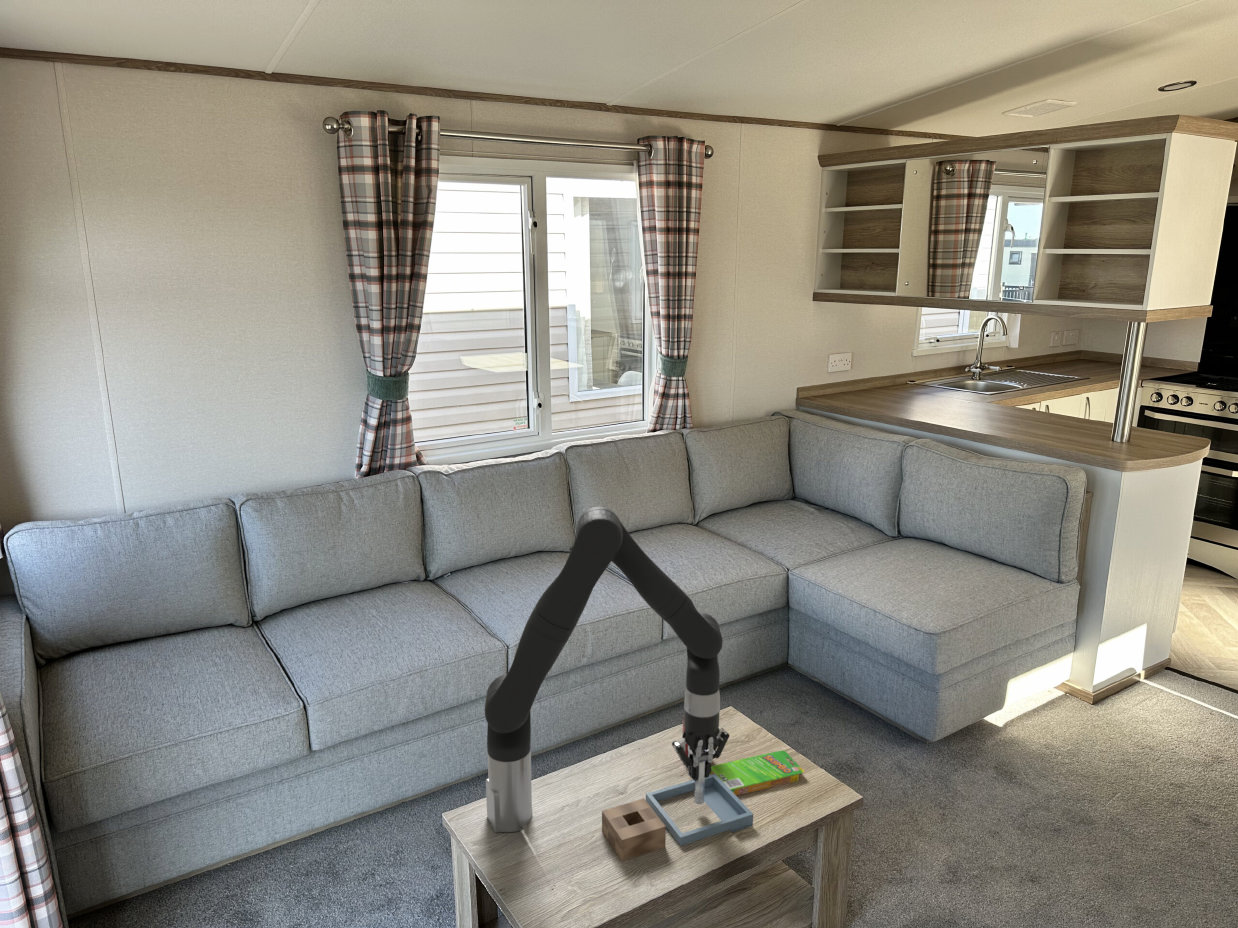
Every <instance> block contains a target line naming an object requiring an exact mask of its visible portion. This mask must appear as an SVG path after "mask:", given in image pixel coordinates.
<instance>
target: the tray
mask: <svg viewBox="0 0 1238 928" xmlns="http://www.w3.org/2000/svg"><path fill="white" fill-rule="evenodd" d="M694 786H695V781H694V780H693V779H691V780H688V781H683V782H680V783H677V784H674V785H673V784H672V785H669V786H667V787H663V788H660V789H657V790H656V789H655V790H653V791H650V792H646V793H645V800H646V801H647V803H648V804H649V805H650V807H651V808H652V809H653V810H654V812H655V813H656V814H657V816H658V817H659V818H660V819H661V821H662V822H663V823H664V825H665V826H666V830H667V831H668V832H669V834H670V835H671V836H672V837H673V838H674V840H675V841H676V842H677V844H678V845H679V847H682V846H685V845H688V844H690V843H694V842H697V841H700V840H703V839H707V838H709V837H712V836H716V835H718V834H721V833H725V832H727V831H730V832H731V833H733V834H734V833H735V832H739V831H742V830H744V829H747V828H751V827H753V825H754V813H753V812H752V810H750V809H749V807H747V806H746V805H745V803H744V802H743V801H741V799H740V798H739V797H738V795H735V794H734V793H733V792H732V791H731V790H730V789H729V788H728V787H727V786H726V785H725V784H724V782H723V781H722V780H721V779H720V778H719V777H718V776H717V775H716V774H715V773H714V774H709V777H707V778H705V790H704V803H705V804H706V805H707V806H708V808H709V809H711V811H712V812H713V813H714V814H715V815H716V816H717V818H718V819H719V820H720V821H717V822H713V823H710V824H708V825H704V826H701V827H697V828H695V829H691V830H688V831H685V832H682V830H680V828H679V827H678V825H677V824H676V823H675V822H674V821H673V820H672V818H671V817H670V816H669V814H668V813H667V812H666V810H664V808H663V807H662V806H661V804H660V803H659V802H660V801H662V800H666V799H669V798H672V797H675V796H679V795H682V794H686V793H688V792H693V791H694Z"/></svg>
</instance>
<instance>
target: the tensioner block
mask: <svg viewBox="0 0 1238 928" xmlns="http://www.w3.org/2000/svg"><path fill="white" fill-rule="evenodd" d="M666 830H667V828H666V826H665V825H664V823H663V822H662V821H661V819H660V818H659V817H658V816H657V814H656V813H655V812H654V810H653V809H652V808H651V807H650V805H649V804H648V803H647V801H646V798H641V799H637V800H633V801H630V802H628V803H623V804H620V805H617V806H614V807H610V808H607V809H603V810H601V832H602V833H603V835H604V837H605V838H606V840H607V841H608V843H609V844H610V845H611V847H612V849H613V851H615V853H616V855H617V857H618V858H619V860H621V862H623V861H626V860H629V859H633V858H635V857H640V856H643V855H645V854H648V853H651V852H654V851H657V850H661V849H664V848H666V838H667V837H666V833H667V831H666Z"/></svg>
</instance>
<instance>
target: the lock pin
mask: <svg viewBox="0 0 1238 928" xmlns="http://www.w3.org/2000/svg"><path fill="white" fill-rule="evenodd" d="M706 760H708V754H707V753H706V752H705V751H704V750H702V751H701V756H700V757H699V758H698V766H699V770H698V780H697V781H695V786H694V790H693V791H694V793H693V802H694V803H695V804H696V805H702V804H704V803H705V802H704V790H705V761H706Z"/></svg>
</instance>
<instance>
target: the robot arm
mask: <svg viewBox="0 0 1238 928" xmlns="http://www.w3.org/2000/svg"><path fill="white" fill-rule="evenodd" d="M611 563H613V564H614V565H615V566H616V567H617V568H618V569H619V570H620V572H622V573H623V574H624V576H625V577H626V578H627V579H628V581H629V582H630V583H631V585H632V586H633V587H634V589H635V590H636V592H637V593H638V594H639V596H641V598H642V599H643V600H644V602H646V604H647V605H648V606H649V607H650V608H651V609H652V610H653V611H654V612H655V613H656V614H657V615H658V616H659V617H660V618H661V619H662V620H664V621H665V623H667V624H668V625H669V626H670V627H671V629H672V631H674V633H675V634H676V636H678V639H680V640H681V642H682V643H683V645H684V647H686V655H687V658H686V659H687V660H686V661H687V663H686V664H687V665H686V672H685V673H686V674H685V675H686V679H685V681H686V682H685V692H684V703H683V705H684V707H683V708H684V709H683V710H684V711H683V712H684V713H683V716H684V727H685V731H684V733H683V736H682V735H681V736H682V737H683V738H682V737H681V739H679V741H677V740H674V741H672V743H671V746H672V748H673V749H674V751H675V753H676V754H677V755H678V757H679V759H680V761H681V762H682V763H683V764H684V765H685V766H686V767H688V776H689V777H690V778H691V780H694V781H697V780H698V770H699V766H698V758H699V757H700V756H701V751H702V750H704V751H705V752H706V753H707V754H708V760H706V761H705V778H707V777H709V775H711V774H710V773H711V766H712V762H713V761H714V759H719V758H720V757H721V755H722V752H723V751H724V749H725V747H726V744H727V743H728V740H729V738H730V734H729V732H728V731H727V730H725V729H724V728H723V727H722V728H719V727H720V710H721V709H720V707H721V694H720V680H721V679H720V678H721V677H720V673H721V672H720V665H719V660H718V659H719V658H718V655H719V653H720V652H721V651H722V648H723V644H724V643H723V640H724V639H723V636H722V632H721V630H720V629H721V627H720V625H719V623H718V621H717V620H716V618H715V617H713V616H712V615H710V614H708V613H704V612H703V613H701V612H699V611H698V610H697V608H696V606H695V605H694V602H693V601H692V599H691V598H690V596H688V594H686V592H685V591H684V590H683V589H682V588H681V587H680V586H678V584H677V583H676V582H674V580H672V579H671V578H670V577H669V576H668V574H666V573H665V572H664V571H663V570H662V569H661V568H660V567H659V566H658V565H657V564H656V563H655V562H654V561H653V560H652V559H651V558H650V557H649V556H648V555H647V554H646V552H644V550H643V549H642V548H641V547H640V545H639V544H638V543H637V542H636V541H635V539H634V538H633V537H632V536H631V534H630V533H629V531H628V530H627V529H626V527H625V526H624V524H623V523H622V522H621V520H620V518H619V517H618V516H617V514H616V513H615V512H613V510H611V509H609V508H606V507H605V506H593V507H590V508H588V509H587V510H585V511H583V512H582V514H581V515H580V517H579V519H578V522H577V527H576V535H575V540H574V542H573V546H572V547H571V550H570V553H569V555H568V557H567V559H566V561H565V564H564V566H563V568H562V570H561V571H560V573H559V574H558V575H557V577H556V578H555V579H554V580H553V581H552V582H551V583H550V584H549V586H548V587H547V588H546V589H545V591H543V593H542V594H541V596H540V598H539V599H538V600H537V602H536V603H535V606H534V608H533V610H532V611H531V613H530V615H529V617H528V619H527V621H526V624H525V626H524V628H523V631H522V634H521V636H520V639H519V641H518V645H517V649H516V651H515V653H514V658H513V660H512V663H511V665H510V668H509V670H508V672H507V674H502V675H500V676H497V677H496V678H494V679H493V680H492V682H491V683H490V684H489V686H488V688H487V690H486V696H485V697H486V698H485V704H484V716H485V717H484V718H485V719H486V720H485V721H486V723H487V731H486V732H487V736H486V749H487V751H486V752H487V771H488V773H487V774H488V775H487V777H488V778H486V779H485V795H486V818H487V819H488V821H489V823H490V826H491V827H492V829H493V831H494V833H499V832H502V833H515V832H519V831H521V830H524V828H523V827H524V826H525V825H527V824H528V823H529V822H530V821H531V820H532V818H533V817H532V816H533V794H532V792H533V790H532V788H533V787H532V751H531V750H532V748H531V747H532V746H531V741H532V738H531V737H532V729H531V727H532V725H531V724H532V723H531V722H532V721H531V719H532V718H531V714H532V713H531V710H532V707H533V705H534V702H535V699H536V698H537V695H538V692H539V690H540V688H541V686H542V684H543V682H544V680H545V679H546V677H547V675H548V674H549V672H550V671H551V669H552V667H553V666H554V664H555V663H556V661H557V659H558V657H559V656H560V654H561V652H562V650H563V649H564V648H565V645H566V644H567V642H568V641H569V639H570V637H571V635H572V634H573V632H574V630H575V629H576V627H577V624H578V622H579V621H580V618H581V616H582V615H583V612H584V610H585V607H586V606H587V604H588V601H589V599H590V597H591V594H592V592H593V590H594V587H595V586H596V585H597V583H598V581H599V580H600V578H601V577H602V575H603V574H604V572H605V571H606V569H607V568H608V566H609V565H610V564H611ZM686 743H687V744H688V752H689V754H688V757H687V755H686V753H685V752H684V751H685V750H686V749H685V744H686Z"/></svg>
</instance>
